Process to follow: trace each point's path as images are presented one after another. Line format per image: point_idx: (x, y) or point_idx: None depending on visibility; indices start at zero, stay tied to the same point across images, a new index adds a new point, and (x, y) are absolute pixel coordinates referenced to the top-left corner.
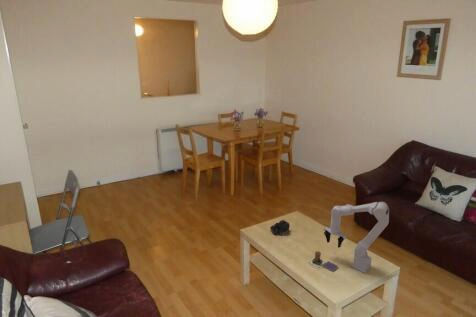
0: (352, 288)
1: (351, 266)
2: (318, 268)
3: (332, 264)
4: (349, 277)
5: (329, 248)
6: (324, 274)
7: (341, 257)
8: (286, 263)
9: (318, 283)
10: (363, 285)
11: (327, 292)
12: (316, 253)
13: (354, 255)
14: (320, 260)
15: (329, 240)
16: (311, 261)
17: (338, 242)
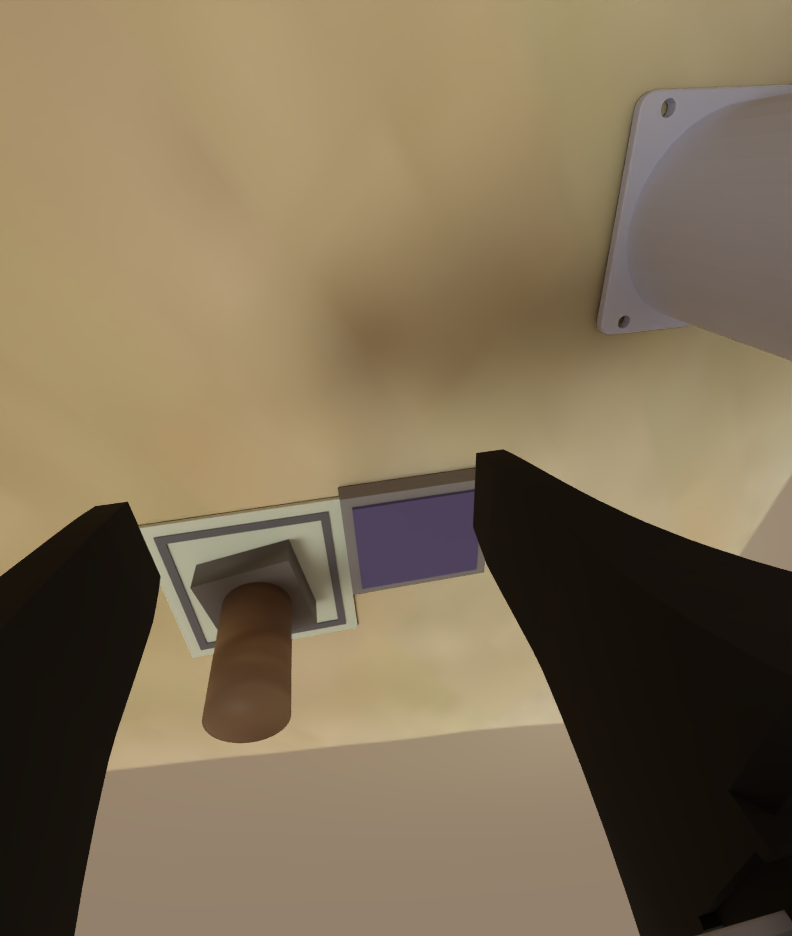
0: None
1: (616, 332)
2: (345, 629)
3: (424, 513)
4: (643, 498)
5: (4, 110)
6: (438, 631)
7: (388, 222)
8: None
9: (465, 711)
10: (780, 487)
11: (559, 712)
12: (248, 737)
13: (786, 335)
14: (280, 581)
15: (118, 551)
16: (202, 616)
17: (569, 699)
